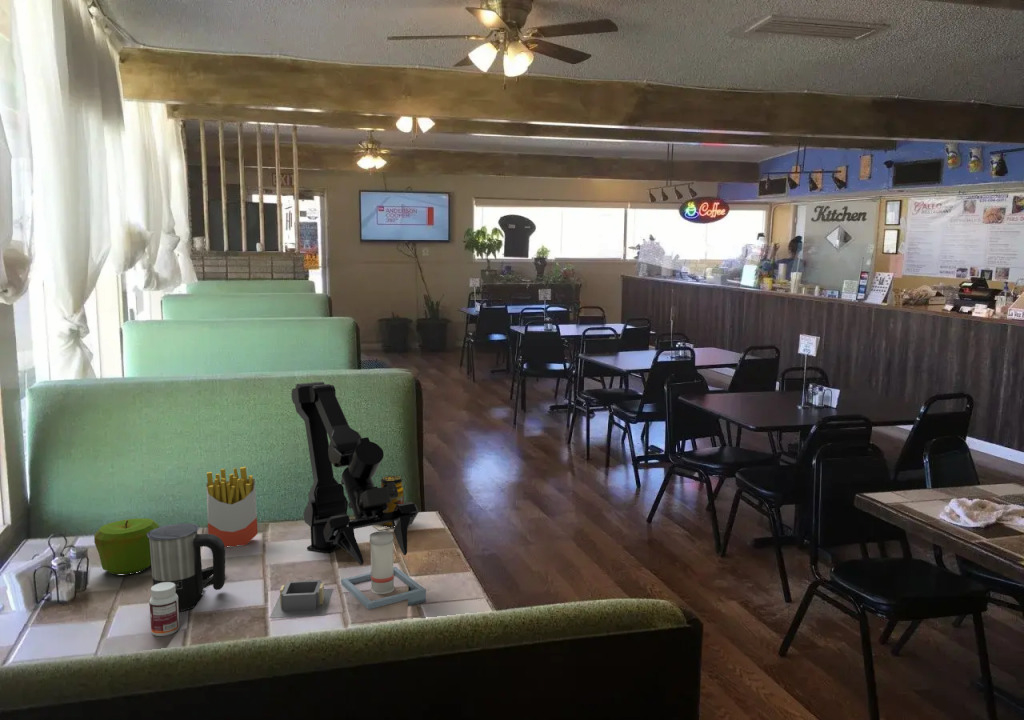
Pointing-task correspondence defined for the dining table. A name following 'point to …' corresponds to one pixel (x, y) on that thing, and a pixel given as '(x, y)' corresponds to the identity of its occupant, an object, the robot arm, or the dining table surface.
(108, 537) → the apple
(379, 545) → the cylinder
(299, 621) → the dining table surface
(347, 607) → the dining table surface
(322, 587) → the fuse holder
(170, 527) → the milk frother
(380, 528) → the condiment
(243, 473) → the french fries container
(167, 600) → the pill bottle
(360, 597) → the tray
